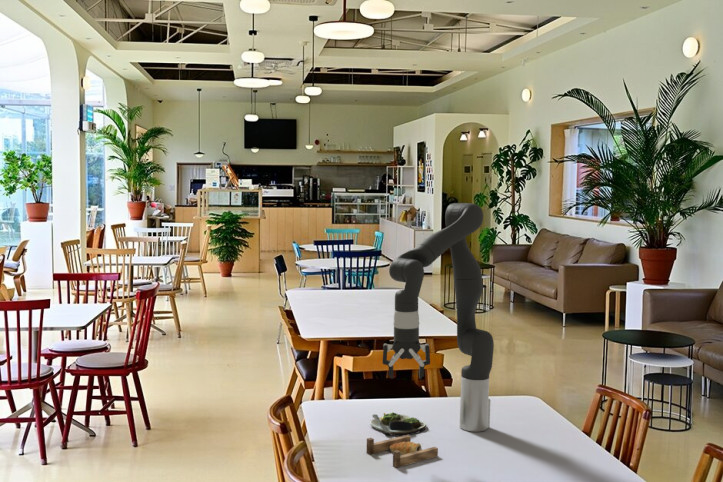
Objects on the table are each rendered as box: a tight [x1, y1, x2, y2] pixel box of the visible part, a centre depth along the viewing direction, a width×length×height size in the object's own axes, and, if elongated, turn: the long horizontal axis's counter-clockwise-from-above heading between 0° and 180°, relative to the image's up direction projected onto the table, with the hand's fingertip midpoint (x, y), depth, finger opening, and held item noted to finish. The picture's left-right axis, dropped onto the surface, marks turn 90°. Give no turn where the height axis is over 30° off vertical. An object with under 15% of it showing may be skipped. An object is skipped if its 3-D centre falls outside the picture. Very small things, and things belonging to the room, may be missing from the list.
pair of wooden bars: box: [366, 435, 439, 468], centre depth 225 cm, size 16×14×4 cm
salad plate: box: [369, 411, 427, 437], centre depth 251 cm, size 19×18×5 cm
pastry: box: [389, 441, 423, 456], centre depth 226 cm, size 9×7×4 cm
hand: (406, 378), depth 227 cm, fingers open, 8 cm apart
